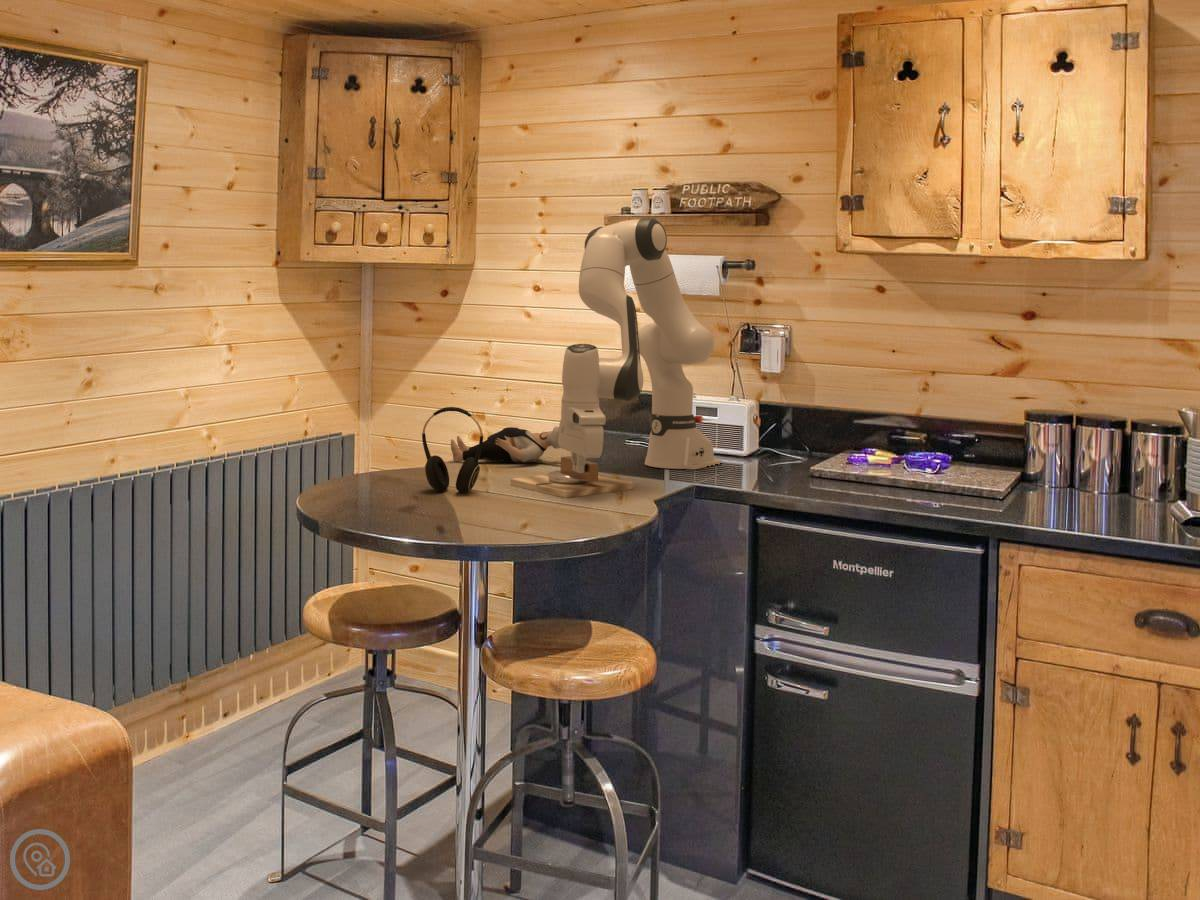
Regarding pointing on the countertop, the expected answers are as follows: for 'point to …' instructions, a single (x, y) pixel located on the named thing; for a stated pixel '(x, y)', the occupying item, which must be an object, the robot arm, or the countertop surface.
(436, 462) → the headphones
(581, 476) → the dial
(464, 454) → the figurine
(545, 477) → the dial plate
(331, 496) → the countertop surface
